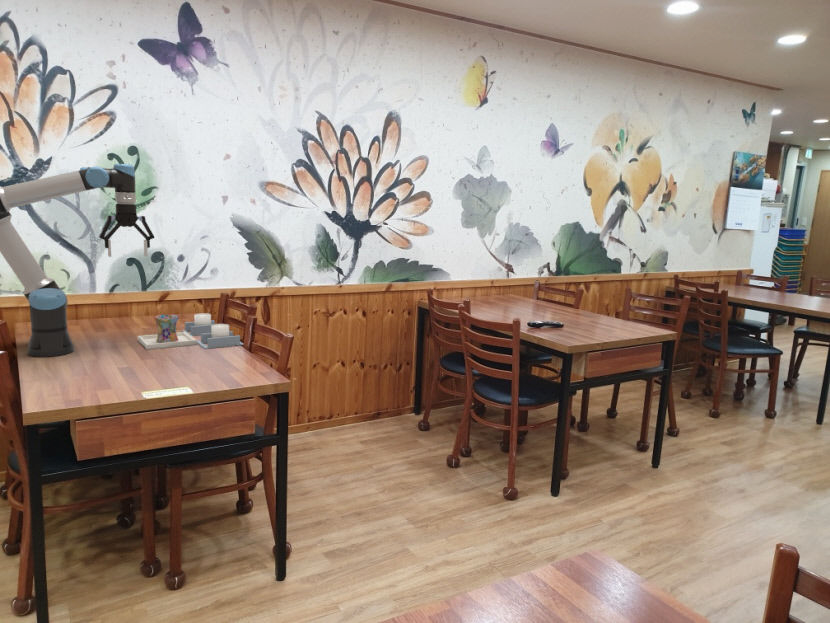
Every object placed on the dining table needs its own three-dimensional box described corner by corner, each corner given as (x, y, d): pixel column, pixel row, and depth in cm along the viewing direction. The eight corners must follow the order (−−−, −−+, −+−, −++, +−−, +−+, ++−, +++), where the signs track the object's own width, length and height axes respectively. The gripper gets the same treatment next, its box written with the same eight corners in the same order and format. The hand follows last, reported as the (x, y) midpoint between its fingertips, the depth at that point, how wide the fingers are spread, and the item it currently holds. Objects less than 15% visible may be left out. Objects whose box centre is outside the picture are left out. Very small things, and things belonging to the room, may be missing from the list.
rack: (204, 349, 244) (204, 339, 244) (181, 331, 272) (181, 322, 272) (243, 344, 253) (243, 335, 253) (217, 328, 282) (217, 319, 281)
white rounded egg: (214, 347, 248) (214, 327, 247) (209, 343, 254) (209, 324, 252) (231, 345, 252) (231, 326, 251) (226, 341, 258) (225, 323, 256)
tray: (146, 349, 239) (146, 344, 239) (137, 340, 253) (137, 336, 253) (196, 344, 250) (196, 340, 250) (185, 336, 264) (185, 331, 263)
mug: (182, 343, 250) (181, 317, 248) (158, 345, 244) (157, 319, 242) (173, 337, 259) (172, 312, 257) (150, 339, 253) (149, 314, 251)
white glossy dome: (197, 334, 268) (196, 316, 267) (192, 331, 274) (192, 313, 272) (213, 333, 272) (212, 315, 271) (208, 330, 278) (208, 312, 276)
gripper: (92, 202, 235) (95, 257, 239) (160, 204, 250) (162, 256, 253) (89, 202, 241) (92, 255, 245) (156, 204, 256) (158, 254, 259)
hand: (128, 256), depth 249 cm, fingers open, 13 cm apart
